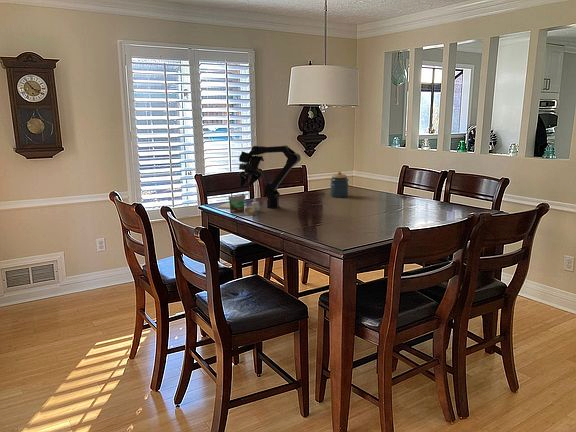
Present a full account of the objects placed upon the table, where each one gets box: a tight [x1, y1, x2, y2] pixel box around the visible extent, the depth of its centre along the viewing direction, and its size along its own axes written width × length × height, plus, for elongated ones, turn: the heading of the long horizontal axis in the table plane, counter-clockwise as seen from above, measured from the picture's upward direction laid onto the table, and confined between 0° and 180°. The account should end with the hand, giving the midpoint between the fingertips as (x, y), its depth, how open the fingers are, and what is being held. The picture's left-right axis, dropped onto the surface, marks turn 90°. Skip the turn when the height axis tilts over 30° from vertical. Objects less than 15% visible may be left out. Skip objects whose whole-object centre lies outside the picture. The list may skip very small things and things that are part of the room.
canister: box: [329, 171, 349, 198], centre depth 331 cm, size 13×13×18 cm
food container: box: [228, 193, 247, 214], centre depth 281 cm, size 12×6×10 cm, turn 143°
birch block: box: [244, 205, 256, 216], centre depth 273 cm, size 4×4×4 cm
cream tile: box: [217, 202, 247, 210], centre depth 298 cm, size 13×14×1 cm
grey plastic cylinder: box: [250, 201, 260, 213], centre depth 284 cm, size 5×5×5 cm
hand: (244, 186), depth 287 cm, fingers open, 9 cm apart
